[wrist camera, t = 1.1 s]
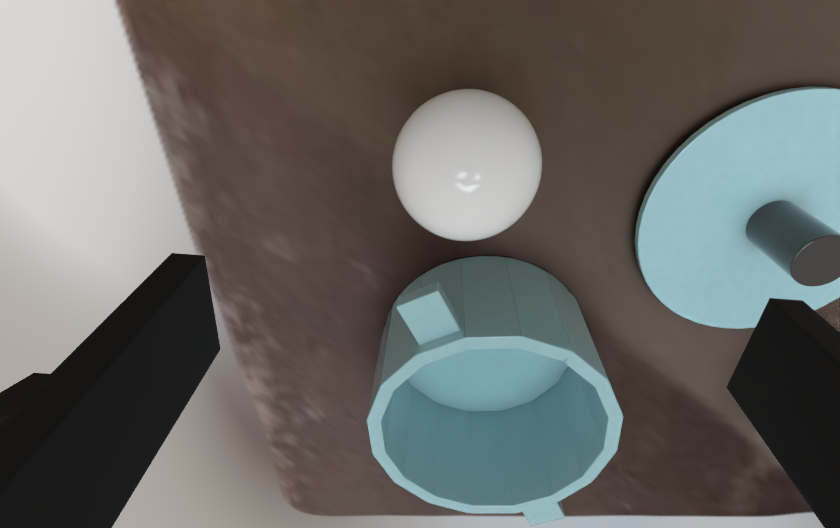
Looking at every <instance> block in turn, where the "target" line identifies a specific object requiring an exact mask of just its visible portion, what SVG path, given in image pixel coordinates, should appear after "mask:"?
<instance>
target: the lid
mask: <svg viewBox="0 0 840 528" xmlns="http://www.w3.org/2000/svg"><path fill="white" fill-rule="evenodd" d="M635 251H636V257H637V262H638V266H639V269H640V271H641V273H642V276H643V278H644V280H645V281H646V283H647V285H648V286H649V288H650V289H651V291H652V292H653V294H654V295H655V296H656V297H657V298H658V299H659V300H660V301H661V302H662V303H663V304H664V305H665V306H667V307H668V308H669V309H670V310H672V311H673V312H675V313H677V314H678V315H680V316H682V317H684V318H686V319H689V320H691V321H694V322H696V323H700V324H704V325H708V326H713V327H720V328H739V329H741V328H754V327H756V325H757V323H758V321H759V319H760V317H761V315H762V313H763V311H764V309H765V307H766V305H767V303H768V301H769V299H770V298H776V299H790V300H803V301H804V302H805V303H806V304H807V305H809V306H810V307H811V308H812V309H813V310H816V309H819V308H821V307H823V306H825V305H826V304H828V303H830V302H832V301H833V300H835V299H837V298H839V297H840V88H833V87H800V88H792V89H786V90H781V91H777V92H773V93H769V94H766V95H763V96H760V97H757V98H754V99H752V100H749V101H746V102H744V103H742V104H740V105H738V106H736V107H734V108H732V109H730V110H728V111H726V112H724V113H723V114H721V115H719V116H718V117H716V118H714V119H713V120H711V121H710V122H708V123H707V124H705V125H704V126H703V127H702V128H700V129H699V130H698V131H696V132H695V133H694V134H692V135H691V136H690V137H689V138H688V139H687V140H686V141H685V142H684V143H683V144H682V145H681V146H680V147H678V148H677V149H676V151H675V152H674V153H673V154H672V155H671V156H670V158H669V159H668V160H667V161H666V162H665V163H664V165H663V166H662V168H661V169H660V171H659V172H658V174H657V175H656V176H655V178H654V179H653V181H652V183H651V185H650V187H649V189H648V191H647V193H646V195H645V197H644V200H643V202H642V205H641V208H640V211H639V215H638V219H637V224H636V232H635Z"/></svg>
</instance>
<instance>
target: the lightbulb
mask: <svg viewBox="0 0 840 528" xmlns="http://www.w3.org/2000/svg"><path fill="white" fill-rule="evenodd" d="M541 174H542V153H541V147H540V143H539V140H538V137H537V135H536V132H535V130H534V128H533V126H532V125H531V123H530V121H529V120H528V119H527V117H526V116H525V115H524V114H523V112H522V111H521V110H520V109H519V108H517V107H516V106H515V105H514V104H513V103H511V102H510V101H508V100H507V99H505V98H503V97H501V96H499V95H497V94H495V93H492V92H489V91H485V90H479V89H458V90H452V91H448V92H445V93H442V94H440V95H437V96H435V97H433V98H431V99H430V100H428V101H427V102H425V103H424V104H422V105H421V106H420V107H419V108H418V109H417V110H415V112H414V113H413V114H412V115H411V116H410V117H409V118H408V120H407V121H406V122H405V124H404V126H403V127H402V129H401V131H400V133H399V135H398V138H397V140H396V143H395V147H394V151H393V157H392V175H393V182H394V186H395V189H396V192H397V195H398V197H399V199H400V201H401V203H402V205H403V206H404V208H405V209H406V211H407V212H408V213H409V215H410V216H411V217H412V218H413V219H414V220H415V221H416V222H417V223H418V224H419V225H421V226H422V227H423V228H425V229H426V230H428V231H430V232H431V233H433V234H435V235H438V236H440V237H443V238H446V239H450V240H456V241H475V240H481V239H485V238H489V237H492V236H494V235H497V234H499V233H501V232H502V231H504V230H506V229H507V228H509V227H510V226H512V225H513V224H514V223H515V222H516V221H517V220H518V219H520V217H521V216H522V215H523V214H524V213H525V212H526V210H527V209H528V208H529V206H530V204H531V203H532V201H533V199H534V197H535V195H536V193H537V190H538V187H539V184H540V180H541Z"/></svg>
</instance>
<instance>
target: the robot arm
mask: <svg viewBox="0 0 840 528" xmlns="http://www.w3.org/2000/svg"><path fill="white" fill-rule="evenodd" d="M219 350H220V344H219V339H218V332H217V326H216V321H215V314H214V309H213V303H212V297H211V291H210V285H209V279H208V273H207V267H206V261H205V256H202V255H188V254H175V253H172V254H171V255H170V256H169V257H168V258H167V259H166V260H165V261H164V262H163V263H162V264H161V265H160V266H159V267H158V268H157V269H156V270H155V271H154V272H153V273H152V274H151V275H150V276H149V277H148V278H147V279H146V280H145V281H144V282H143V283H142V284H141V285H140V286H139V287H138V288H137V289H136V290H135V291H134V292H133V293H132V294H131V295H130V296H129V297H128V298H127V299H126V300H125V301H124V302H123V303H122V304H120V305H119V307H118V308H117V309H115V310H114V311H113V312H112V313H111V314H110V316H108V317H107V319H106V320H104V322H103V323H101V325H99V326H98V327H97V328H96V329H95V330H94V332H93V333H91V335H90V336H88V338H86V339H85V340H84V341H83V342H82V343H81V344H80V345H79V346H78V347H77V348H76V350H75V351H73V352H72V353H71V355H69V356H68V357H67V359H65V360H64V361H63V362H62V363H61V365H59V366H58V368H56V369H55V370H54V371H53V372H52V373H51V374H41V373H33V374H31V375H30V376H28V377H26V378H25V379H23V380H21V381H19V382H18V383H16V384H14V385H13V386H11V387H9V388H8V389H6V390H4V391H2V392H1V393H0V528H112V526H113V524H114V523H115V521H116V520H117V518H118V516H119V515H120V513H121V511H122V510H123V508H124V506H125V505H126V503H127V502H128V500H129V498H130V497H131V495H132V493H133V492H134V490H135V488H136V487H137V485H138V483H139V482H140V480H141V478H142V477H143V475H144V474H145V472H146V470H147V469H148V467H149V465H150V464H151V462H152V460H153V459H154V457H155V456H156V454H157V452H158V450H159V449H160V447H161V446H162V444H163V442H164V441H165V439H166V437H167V436H168V434H169V433H170V431H171V429H172V427H173V426H174V424H175V423H176V421H177V419H178V418H179V416H180V414H181V413H182V411H183V410H184V408H185V406H186V405H187V403H188V401H189V400H190V398H191V396H192V395H193V393H194V391H195V390H196V388H197V386H198V385H199V383H200V381H201V380H202V378H203V377H204V375H205V373H206V372H207V370H208V368H209V367H210V365H211V364H212V362H213V360H214V358H215V357H216V355H217V354H218V352H219ZM727 389H728V390H729V391H730V393H731V394H732V396H733V397H734V399H735V400H736V402H737V403H738V404H739V406H740V407H741V409H742V410H743V412H744V413H745V414H746V416H747V417H748V419H749V420H750V422H751V423H752V424H753V426H754V427H755V429H756V430H757V432H758V433H759V434H760V436H761V437H762V439H763V440H764V442H765V443H766V444H767V446H768V447H769V449H770V450H771V452H772V453H773V454H774V456H775V457H776V459H777V460H778V462H779V463H780V464H781V466H782V467H783V469H784V470H785V472H786V473H787V474H788V476H789V477H790V479H791V480H792V482H793V483H794V484H795V486H796V487H797V489H798V490H799V492H800V493H801V494H802V496H803V497H804V499H805V500H806V502H807V503H808V505H809V506H810V507H811V509H812V510H813V512H814V513H815V514H816V516H817V517H818V519H819V520H820V522H821V523H822V524H823V526H824V527H825V528H840V333H839V332H838V331H837V330H836V329H835V328H833V327H832V326H831V325H830V324H829V323H828V322H827V321H826V320H824V319H823V318H822V317H821V316H820V315H819V314H818V313H816V312H815V311H814V310H813V309H812V308H811V307H810V306H809V305H807V304H806V303H805V302H804V301H803V300H790V299H776V298H770V299H769V301H768V303H767V305H766V307H765V309H764V311H763V313H762V315H761V317H760V319H759V321H758V323H757V325H756V328H755V330H754V332H753V334H752V336H751V338H750V340H749V342H748V344H747V346H746V348H745V350H744V352H743V354H742V357H741V359H740V361H739V363H738V365H737V367H736V369H735V371H734V373H733V375H732V377H731V379H730V381H729V383H728V386H727Z"/></svg>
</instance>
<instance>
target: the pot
mask: <svg viewBox="0 0 840 528" xmlns="http://www.w3.org/2000/svg"><path fill="white" fill-rule="evenodd" d="M622 420H623V414H622V411H621V409H620V406H619V404H618V401H617V399H616V396H615V394H614V391H613V389H612V387H611V384H610V382H609V379H608V377H607V374H606V372H605V369H604V367H603V364H602V362H601V359H600V357H599V355H598V352H597V350H596V347H595V345H594V342H593V340H592V337H591V335H590V332H589V330H588V327H587V325H586V323H585V320H584V318H583V315H582V313H581V310H580V308H579V306H578V303H577V301H576V298H575V297H574V296H573V295H572V294H571V293H570V292H569V290H568V289H567V288H566V287H565V286H564V285H563V284H562V283H561V282H560V281H559V280H557V279H556V278H555V277H553V276H552V275H551V274H549V273H548V272H546V271H544V270H542V269H541V268H539V267H537V266H534V265H532V264H529V263H527V262H524V261H520V260H516V259H512V258H506V257H499V256H477V257H467V258H463V259H458V260H454V261H451V262H448V263H445V264H442V265H439V266H437V267H435V268H433V269H431V270H429V271H427V272H426V273H424V274H423V275H421V276H419V277H418V278H417V279H415V280H414V281H413V282H412V283H411V284H409V285H408V286H407V287H406V288H405V290H404V291H403V292H402V293H401V294H400V295H399V297H397V300H396V301H395V302H394V304H393V306H392V308H391V310H390V312H389V315H388V318H387V321H386V325H385V327H384V330H383V333H382V338H381V343H380V349H379V354H378V360H377V366H376V371H375V377H374V382H373V388H372V394H371V399H370V405H369V411H368V416H367V424H368V430H369V436H370V442H371V448H372V453H373V455H374V457H375V458H376V459H377V460H378V462H379V463H380V464H381V466H382V467H383V468H384V470H385V471H386V472H387V473H388V475H389V476H390V477H391V479H392V480H393V481H394V482H395V483H396V484H398V485H400V486H401V487H403V488H405V489H406V490H408V491H410V492H411V493H413V494H415V495H416V496H418V497H420V498H421V499H423V500H425V501H426V502H428V503H431V504H435V505H439V506H443V507H447V508H451V509H455V510H459V511H462V512H466V513H519V512H523V514H524V515H525V517H526V518H527V520H528V522H529V523H530V525H531V526H533V525H537V524H541V523H545V522H549V521H553V520H557V519H562V518H564V517H565V514H564V510H563V505H562V503H561V500H562V499H564V498H566V497H567V496H569V495H571V494H573V493H574V492H576V491H578V490H579V489H581V488H583V487H584V486H586V485H588V484H590V483H591V482H592V481H593V480H594V479H595V478H596V477H597V475H598V474H599V473H600V472H601V470H602V469H603V468H604V467H605V465H606V464H607V463H608V462H609V460H610V459H611V458H612V457H613V455H614V454H615V453H616V451H617V448H618V442H619V437H620V431H621V426H622Z"/></svg>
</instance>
